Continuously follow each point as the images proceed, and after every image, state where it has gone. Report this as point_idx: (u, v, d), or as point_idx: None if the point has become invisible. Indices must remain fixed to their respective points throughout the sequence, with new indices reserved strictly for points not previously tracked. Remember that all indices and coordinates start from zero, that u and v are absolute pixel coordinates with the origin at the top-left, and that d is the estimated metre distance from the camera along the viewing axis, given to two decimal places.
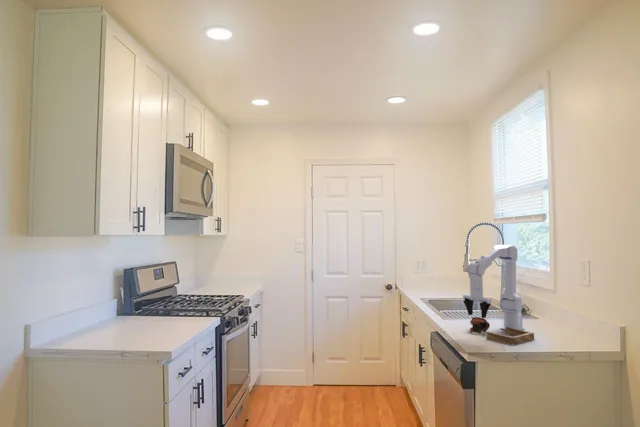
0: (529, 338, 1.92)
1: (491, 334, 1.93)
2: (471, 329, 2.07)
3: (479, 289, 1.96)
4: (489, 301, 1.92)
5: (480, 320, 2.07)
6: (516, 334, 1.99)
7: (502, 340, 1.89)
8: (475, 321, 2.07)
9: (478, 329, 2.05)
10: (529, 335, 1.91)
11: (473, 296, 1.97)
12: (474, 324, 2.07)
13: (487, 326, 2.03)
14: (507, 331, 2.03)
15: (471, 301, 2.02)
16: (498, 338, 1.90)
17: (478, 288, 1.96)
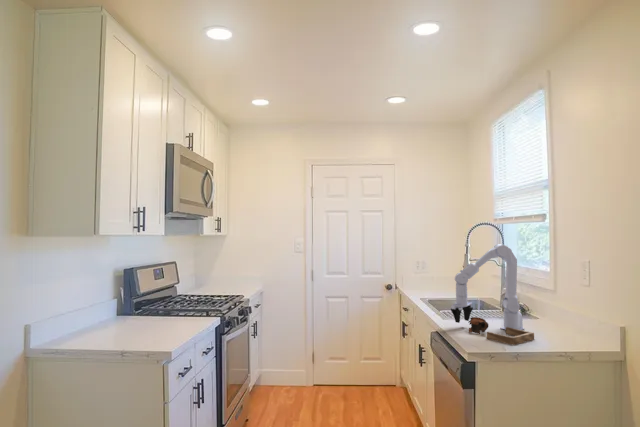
0: (529, 338, 1.92)
1: (491, 334, 1.93)
2: (470, 329, 2.07)
3: (456, 296, 2.17)
4: (452, 307, 2.14)
5: (479, 320, 2.07)
6: (516, 334, 1.99)
7: (502, 340, 1.89)
8: (474, 321, 2.07)
9: (477, 329, 2.05)
10: (529, 335, 1.91)
11: None
12: (473, 324, 2.07)
13: (486, 326, 2.03)
14: (507, 331, 2.03)
15: (467, 308, 2.19)
16: (498, 338, 1.90)
17: (456, 295, 2.18)
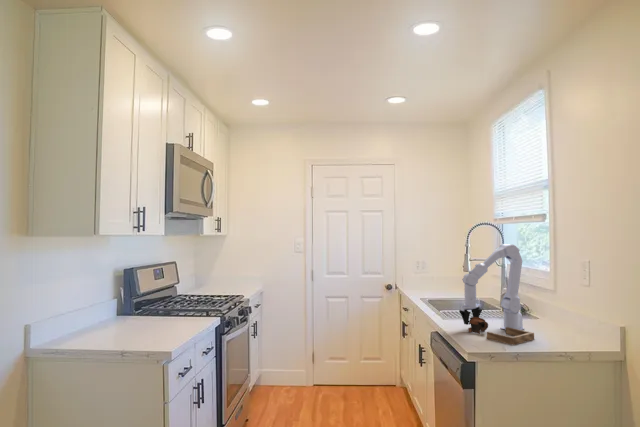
0: (529, 338, 1.92)
1: (491, 334, 1.93)
2: (470, 329, 2.07)
3: (465, 297, 2.13)
4: (461, 309, 2.09)
5: (478, 320, 2.07)
6: (516, 334, 1.99)
7: (502, 340, 1.89)
8: (473, 321, 2.07)
9: (476, 329, 2.05)
10: (529, 335, 1.91)
11: None
12: (473, 324, 2.06)
13: (486, 326, 2.02)
14: (507, 331, 2.03)
15: (476, 310, 2.14)
16: (498, 338, 1.90)
17: (465, 296, 2.13)
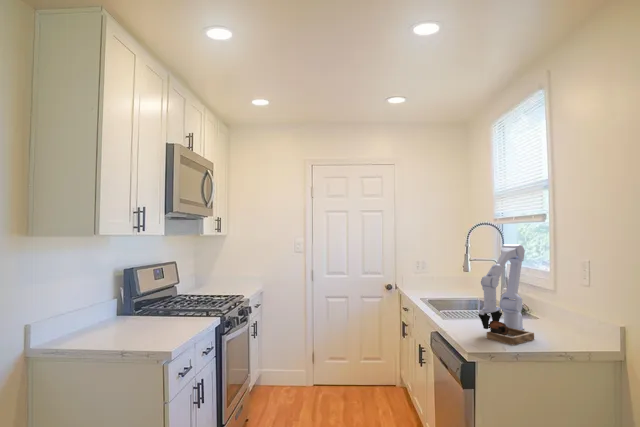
0: (529, 338, 1.92)
1: (491, 334, 1.93)
2: None
3: (484, 300, 2.03)
4: (480, 312, 2.00)
5: (499, 324, 1.97)
6: (516, 334, 1.99)
7: (502, 340, 1.89)
8: (493, 325, 1.98)
9: None
10: (529, 335, 1.91)
11: None
12: (492, 328, 1.97)
13: (506, 331, 1.93)
14: None
15: (496, 313, 2.05)
16: (498, 338, 1.90)
17: (484, 299, 2.04)
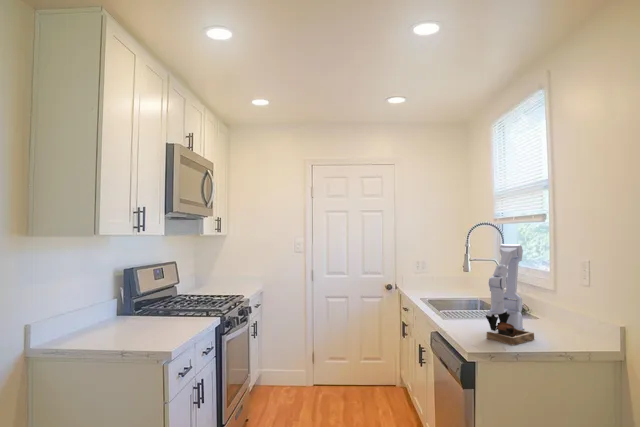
0: (529, 338, 1.92)
1: (491, 334, 1.93)
2: None
3: (492, 302, 2.00)
4: (488, 314, 1.96)
5: (507, 326, 1.94)
6: (516, 334, 1.99)
7: (502, 340, 1.89)
8: (501, 327, 1.94)
9: None
10: (529, 335, 1.91)
11: None
12: (500, 330, 1.94)
13: (514, 333, 1.90)
14: None
15: (504, 315, 2.01)
16: (498, 338, 1.90)
17: (491, 301, 2.00)
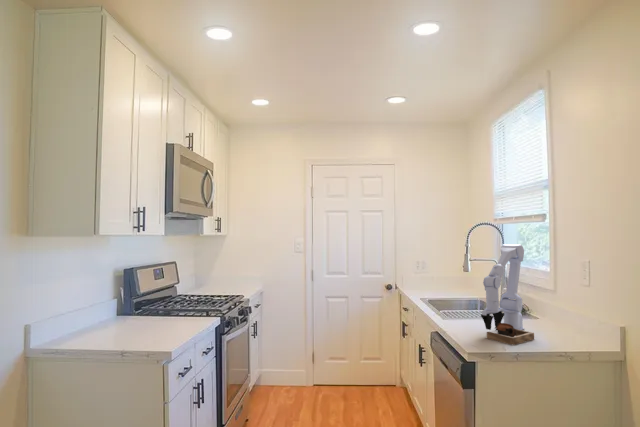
0: (529, 338, 1.92)
1: (491, 334, 1.93)
2: None
3: (487, 301, 2.02)
4: (483, 313, 1.99)
5: (506, 326, 1.94)
6: (516, 334, 1.99)
7: (502, 340, 1.89)
8: (500, 327, 1.94)
9: None
10: (529, 335, 1.91)
11: None
12: (499, 330, 1.94)
13: (514, 333, 1.90)
14: None
15: (498, 314, 2.04)
16: (498, 338, 1.90)
17: (486, 300, 2.03)
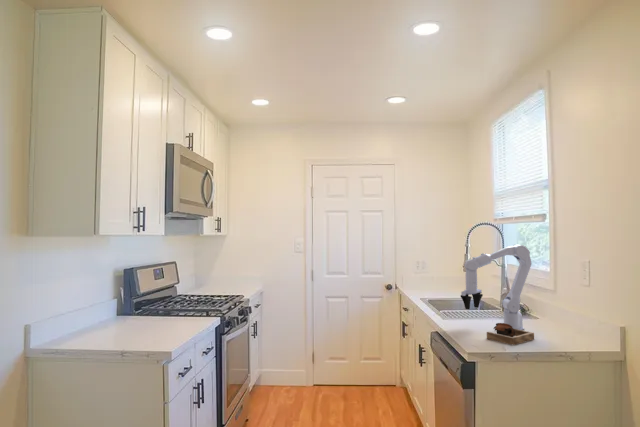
0: (529, 338, 1.92)
1: (491, 334, 1.93)
2: None
3: (466, 282, 2.16)
4: (462, 293, 2.12)
5: (505, 326, 1.94)
6: (516, 334, 1.99)
7: (502, 340, 1.89)
8: (500, 327, 1.94)
9: None
10: (529, 335, 1.91)
11: None
12: (498, 330, 1.94)
13: (513, 333, 1.90)
14: None
15: (477, 295, 2.18)
16: (498, 338, 1.90)
17: (466, 282, 2.17)
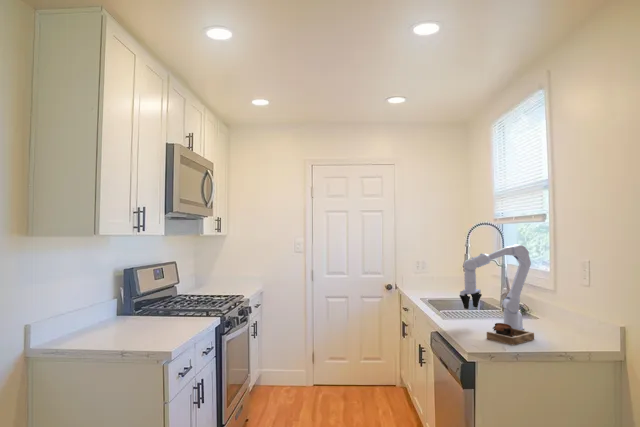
0: (529, 338, 1.92)
1: (491, 334, 1.93)
2: None
3: (465, 282, 2.17)
4: (461, 293, 2.14)
5: (504, 326, 1.94)
6: (516, 334, 1.99)
7: (502, 340, 1.89)
8: (499, 327, 1.94)
9: None
10: (529, 335, 1.91)
11: None
12: (498, 330, 1.94)
13: (512, 333, 1.90)
14: None
15: (476, 295, 2.19)
16: (498, 338, 1.90)
17: (465, 281, 2.18)
